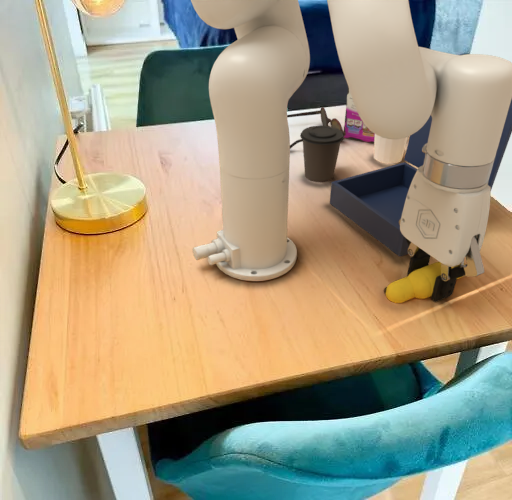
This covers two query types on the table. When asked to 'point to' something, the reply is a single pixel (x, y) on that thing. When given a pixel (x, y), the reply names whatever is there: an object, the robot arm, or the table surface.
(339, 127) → the eyeglasses
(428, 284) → the yellow lobed rod
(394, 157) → the white short cylinder
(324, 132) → the coffee cup
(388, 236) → the blue shallow open box
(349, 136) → the candy bar box
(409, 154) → the lid
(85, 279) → the table surface
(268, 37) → the robot arm
